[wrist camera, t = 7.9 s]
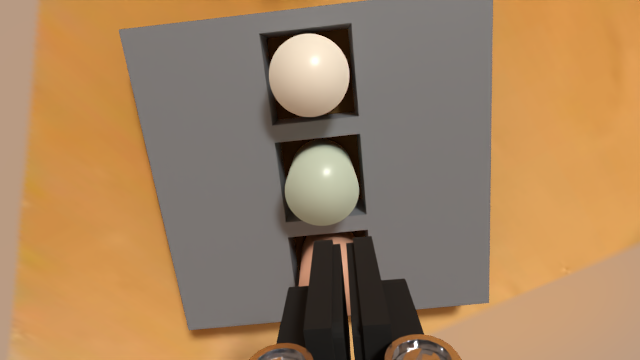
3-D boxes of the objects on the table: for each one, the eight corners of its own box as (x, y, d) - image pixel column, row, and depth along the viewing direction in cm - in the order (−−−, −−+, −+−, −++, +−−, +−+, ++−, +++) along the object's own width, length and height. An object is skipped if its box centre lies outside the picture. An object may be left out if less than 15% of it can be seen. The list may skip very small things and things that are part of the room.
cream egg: (340, 38, 23) (345, 28, 18) (346, 104, 24) (352, 112, 19) (275, 45, 23) (263, 38, 19) (283, 111, 24) (274, 121, 20)
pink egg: (356, 221, 26) (364, 254, 22) (361, 273, 27) (369, 315, 23) (299, 227, 27) (294, 261, 22) (306, 278, 28) (302, 322, 23)
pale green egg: (349, 135, 25) (355, 151, 20) (354, 194, 26) (361, 222, 21) (288, 142, 25) (280, 158, 20) (295, 200, 26) (289, 229, 21)
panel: (471, -4, 23) (492, -15, 20) (471, 279, 28) (488, 302, 25) (143, 34, 23) (118, 29, 21) (202, 304, 29) (188, 330, 26)
